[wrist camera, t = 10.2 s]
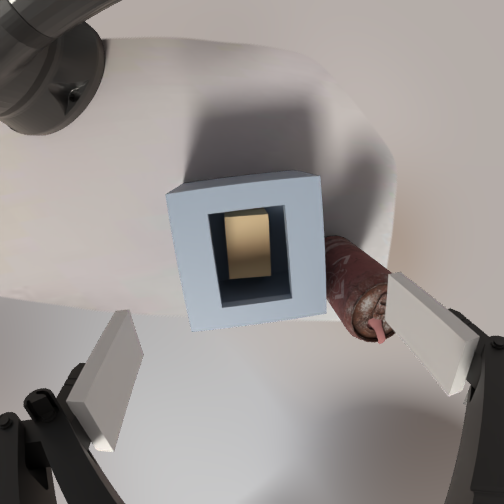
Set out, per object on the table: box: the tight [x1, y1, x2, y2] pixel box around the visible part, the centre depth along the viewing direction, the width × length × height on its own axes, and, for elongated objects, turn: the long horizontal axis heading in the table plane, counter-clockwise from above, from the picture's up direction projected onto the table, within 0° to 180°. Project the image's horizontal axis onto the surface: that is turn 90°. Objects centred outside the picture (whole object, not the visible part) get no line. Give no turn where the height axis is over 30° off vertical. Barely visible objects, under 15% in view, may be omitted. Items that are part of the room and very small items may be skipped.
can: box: [324, 236, 396, 344], centre depth 30 cm, size 6×6×14 cm
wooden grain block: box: [224, 207, 271, 279], centre depth 32 cm, size 6×4×5 cm, turn 4°
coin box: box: [166, 170, 326, 332], centre depth 30 cm, size 12×12×10 cm
